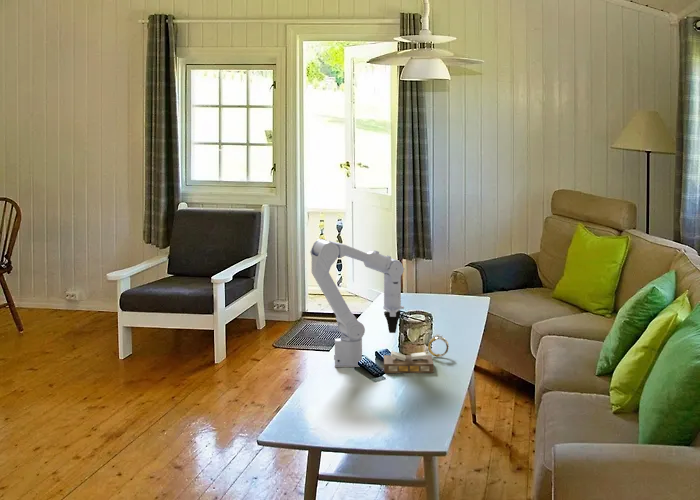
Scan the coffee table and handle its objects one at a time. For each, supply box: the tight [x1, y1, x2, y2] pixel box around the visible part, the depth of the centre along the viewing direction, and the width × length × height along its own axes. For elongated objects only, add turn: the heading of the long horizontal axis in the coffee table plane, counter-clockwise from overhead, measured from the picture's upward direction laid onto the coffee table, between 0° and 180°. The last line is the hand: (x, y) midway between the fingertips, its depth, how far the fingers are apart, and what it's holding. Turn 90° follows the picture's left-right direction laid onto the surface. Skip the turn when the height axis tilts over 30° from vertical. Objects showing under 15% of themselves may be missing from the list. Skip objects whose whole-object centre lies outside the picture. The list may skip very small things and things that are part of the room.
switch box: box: [383, 354, 434, 374], centre depth 279 cm, size 16×10×4 cm, turn 89°
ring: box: [427, 334, 450, 358], centre depth 291 cm, size 7×3×8 cm, turn 74°
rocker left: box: [390, 350, 406, 361], centre depth 278 cm, size 5×4×1 cm
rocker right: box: [410, 351, 427, 360], centre depth 278 cm, size 5×4×1 cm
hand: (392, 332), depth 288 cm, fingers closed
